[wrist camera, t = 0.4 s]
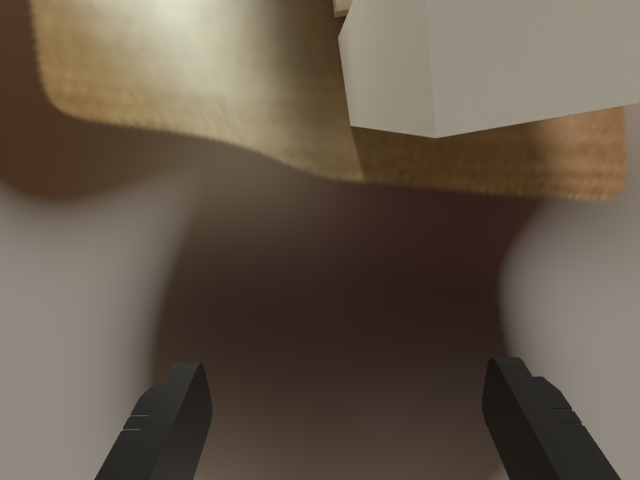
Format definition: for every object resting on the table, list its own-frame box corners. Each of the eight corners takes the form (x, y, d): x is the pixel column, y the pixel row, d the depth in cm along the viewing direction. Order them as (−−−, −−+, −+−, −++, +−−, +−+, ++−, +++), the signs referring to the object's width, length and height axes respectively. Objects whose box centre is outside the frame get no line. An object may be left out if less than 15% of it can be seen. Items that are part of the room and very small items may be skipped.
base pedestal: (337, 37, 33) (412, -146, 10) (508, 7, 33) (975, -249, 10) (350, 125, 35) (436, 138, 12) (510, 97, 35) (905, 56, 12)
